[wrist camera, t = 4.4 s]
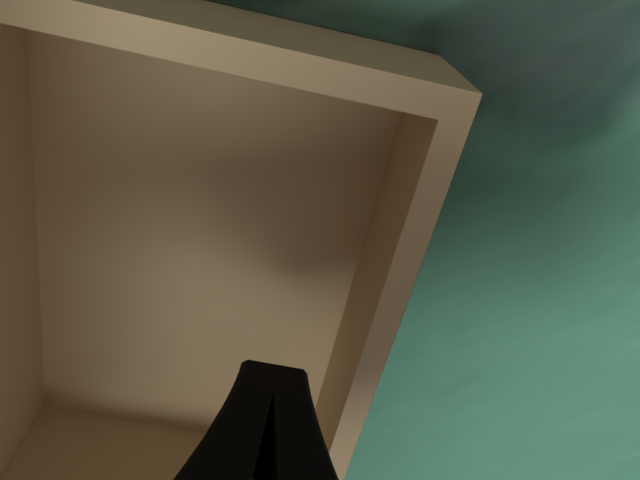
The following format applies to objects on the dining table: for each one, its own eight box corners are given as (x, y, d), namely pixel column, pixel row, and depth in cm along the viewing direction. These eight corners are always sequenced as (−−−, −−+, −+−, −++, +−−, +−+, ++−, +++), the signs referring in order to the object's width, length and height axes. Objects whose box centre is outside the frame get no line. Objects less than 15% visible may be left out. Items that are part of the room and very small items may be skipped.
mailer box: (320, 447, 19) (318, 557, 16) (36, 402, 18) (-33, 509, 15) (443, 56, 13) (488, 94, 9) (9, -45, 12) (-126, -45, 8)
